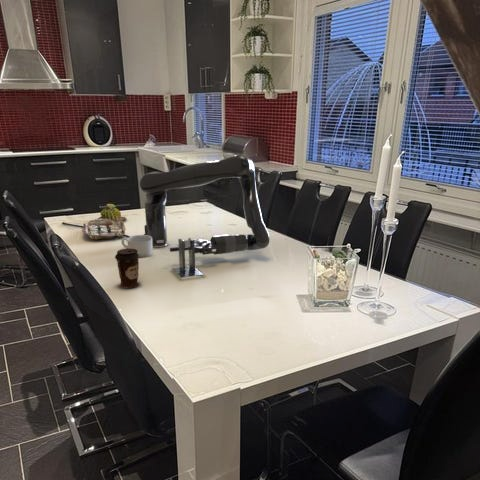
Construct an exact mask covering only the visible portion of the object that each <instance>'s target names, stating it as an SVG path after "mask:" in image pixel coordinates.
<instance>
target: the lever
mask: <svg viewBox="0 0 480 480" xmlns="http://www.w3.org/2000/svg"><path fill="white" fill-rule="evenodd" d="M183 241H184V247H185V251H189V247H190V246H191V245H190V240H188V239H187V240H185V239H184V240H183ZM169 252H170V253H171V252H172V253H174V252H179V246H177V247H169Z"/></svg>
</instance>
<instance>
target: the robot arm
mask: <svg viewBox="0 0 480 480" xmlns="http://www.w3.org/2000/svg"><path fill="white" fill-rule="evenodd" d="M231 178H232V179H233V178H237V179H238V181H239V183H240V187H241V192H242V202H243V203H242V205H243V206H242V207H243V214H244V218H245V222H246V226H247V227H248V228H249V229H251V232H252V233H250V234H244V233H243V234H242V233H241V234H221V235H213V236H211V237H210V240H209V241H208V240H206V239H205V238H201V239H193V240H194V243H195V254H200V255H203V256H205V255H211V254H213V255H215V256H217V255H225V254H231V253H236V252H244V251H256V250H263V249H266V248H267V247H268V246H269V244H270V234H269V230H268V229H267V227H266V224H265V223H264V220H263V215H262V211H261V206H260V202H259V197H258V192H257V184H256V170H255V163H254V161H253V159H252V158H251V157H249V156H247V155H245V154H236V155H233V156H230V157H227V158H224V159H218V160H215V161H205V162H198V163H193V164H187V165H184V166H180V167H177V168H175V169H171V170H168V171H164V172H160V171H151V172H146V173H145V174H144V175H142V176H141V178H140V180H139V188H140V189H141V191H142V192H144V194H147V198H146V199H145V201H144V214H145V215H144V216H145V224H144V233H143V235H148V236H151V237H152V245H153V248H165V247H167V246H168V231H167V230H168V229H167V214H166V203H167V190H173V189H175V190H176V189H186V188H188V189H189V188H194V187H195V188H196V187H201V186H205V185H208V184H211V183H213V182H215V181H218V180H221V179H231ZM61 225H64V226H65V225H66V226H71V227H76V228H82V229H83V226H84V225H81V224H74V223H68V222H61ZM98 230H100V229H99V228H98ZM107 231H108V232H110V233H111V231H109V230H107ZM131 236H132V235H131ZM131 236H130V235H127V234H124V235H122V236H121V237H124V238H125V237H126V238H129V237H131Z"/></svg>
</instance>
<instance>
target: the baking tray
mask: <svg viewBox="0 0 480 480" xmlns="http://www.w3.org/2000/svg"><path fill="white" fill-rule="evenodd" d="M82 226H83V228H82V229H81V232H83V233H84V234H86V235H87V236H88V237H89V238H90V239H91V240H97V241H98V240H107V239H114V238H115V237H117V238H118V239H119V238H121V237H123V236H122V235H126V232H125V231H127V228H126V226H125V222H124V221H119V222H117V223H116V222H114V221H112V220H111V219H98V218H96V219H92V220H89V221H88V222H86V223H83V225H82ZM98 228H99V229H100V230H98ZM107 230H109V231H111V233H110V232H108V231H107Z"/></svg>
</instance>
